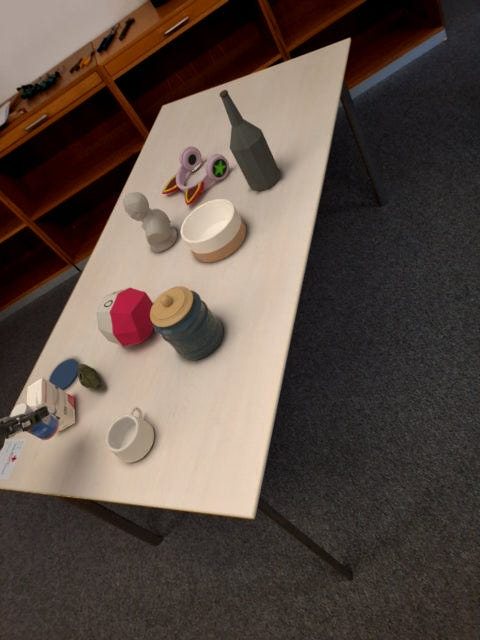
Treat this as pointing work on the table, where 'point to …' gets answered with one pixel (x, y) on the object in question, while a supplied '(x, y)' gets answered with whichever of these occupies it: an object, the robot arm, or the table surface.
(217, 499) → the table surface
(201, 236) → the bowl
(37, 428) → the pill bottle
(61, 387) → the coaster
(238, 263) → the table surface
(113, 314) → the decorative object
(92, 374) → the decorative stone
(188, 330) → the canister
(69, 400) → the ink box
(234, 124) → the bottle
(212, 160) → the headphones
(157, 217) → the figurine
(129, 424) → the mug
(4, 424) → the robot arm
